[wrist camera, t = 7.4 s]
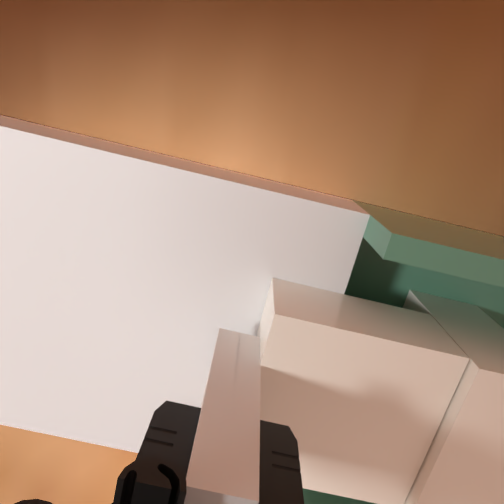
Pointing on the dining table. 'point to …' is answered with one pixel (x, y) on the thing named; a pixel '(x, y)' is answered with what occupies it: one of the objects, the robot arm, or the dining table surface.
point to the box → (423, 272)
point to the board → (139, 275)
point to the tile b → (466, 412)
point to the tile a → (355, 387)
